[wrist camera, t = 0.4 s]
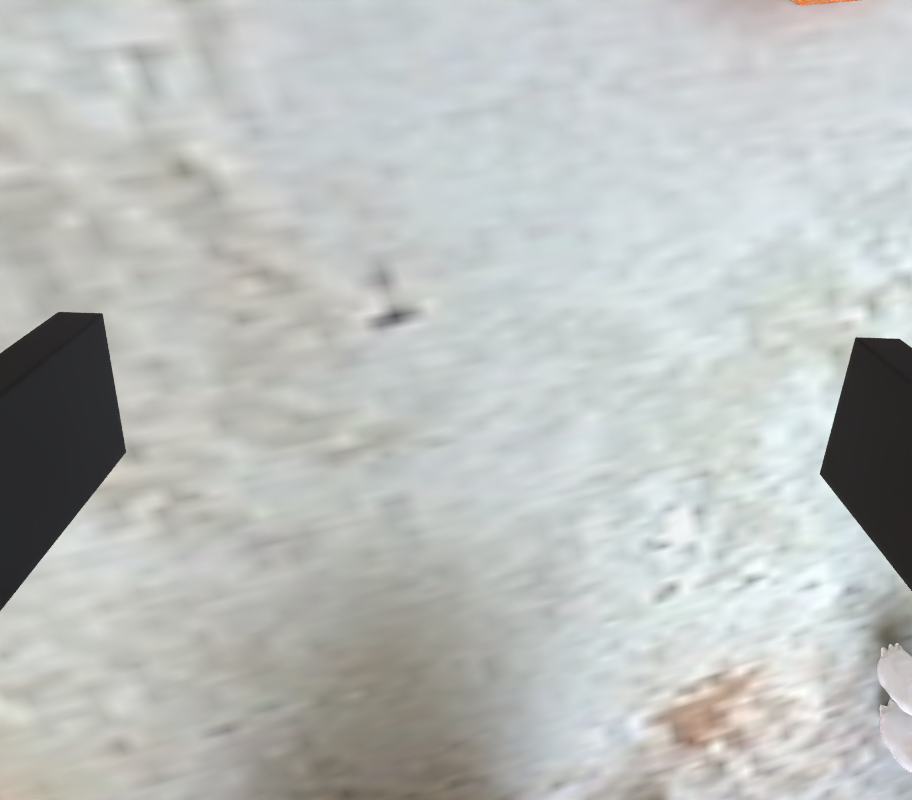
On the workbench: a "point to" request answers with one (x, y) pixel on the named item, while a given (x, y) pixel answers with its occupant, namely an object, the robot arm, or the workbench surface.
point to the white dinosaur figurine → (897, 703)
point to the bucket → (817, 1)
